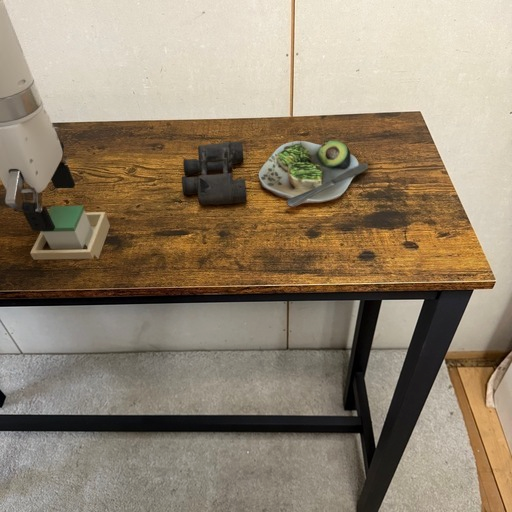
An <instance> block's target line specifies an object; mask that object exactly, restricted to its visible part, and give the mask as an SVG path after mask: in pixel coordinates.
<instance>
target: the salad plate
mask: <svg viewBox="0 0 512 512" xmlns="http://www.w3.org/2000/svg"><path fill="white" fill-rule="evenodd" d="M368 168H369V163H367V162H363V163H361V162H359V160H358V159H357V158H356V156H355V155H353V154H352V153H351V151H350V149H349V147H348V146H347V144H346V143H344V142H343V141H340V140H336V139H330V140H328V141H325V142H324V143H323V144H322V145H321V144H318V143H314V142H310V141H305V140H295V141H289V142H286V143H284V144H282V145H280V146H278V148H276V150H275V151H274V152H272V154H271V156H270V157H269V158H268V159H267V161H265V163H263V166H262V167H261V168H260V169H259V171H258V180H259V183H260V184H261V185H262V187H263V188H264V189H266V190H267V191H269V192H271V193H272V194H273V195H275V196H277V197H279V198H283V199H285V200H286V202H285V203H286V206H287V207H290V208H294V207H297V206H300V205H302V204H308V203H309V204H311V203H319V204H320V203H324V202H329V201H334V200H337V199H339V198H341V196H342V195H343V194H344V193H345V192H346V191H347V190H348V188H349V187H350V185H351V182H352V180H354V178H355V177H357V176H358V175H360V174H362V173H363V172H364V171H366V170H367V169H368Z"/></svg>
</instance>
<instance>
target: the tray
mask: <svg viewBox="0 0 512 512" xmlns="http://www.w3.org/2000/svg"><path fill="white" fill-rule="evenodd" d="M85 213H86V216H87V218H88V220H89V223H90V225H91V228H92V230H93V234H92V236H91V239H90V242H89V244H88V247H87V248H86V249H84V248H83V249H44V248H45V246H46V243H47V240H46V238H45V236H44V234H43V232H42V231H39V232H40V233H39V235H38V236H37V239H36V241H35V242H34V245H33V246H32V249H31V251H30V252H29V254H30V256H31V258H32V259H33V261H35V260H85V259H86V260H92V259H94V256H95V257H96V258H97V260H99V258H100V256H101V253H102V250H103V247H104V244H105V242H106V239H107V236H108V234H109V230H110V228H111V224H110V222H109V219H108V216H107V214H106V211H91V212H88V211H87V212H86V211H85Z"/></svg>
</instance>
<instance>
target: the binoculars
mask: <svg viewBox="0 0 512 512" xmlns="http://www.w3.org/2000/svg"><path fill="white" fill-rule="evenodd" d="M197 155H198V158H185V157H184V158H183V160H182V162H183V173H184V176H183V175H182V177H181V188H182V193H183V196H186V195H191V194H192V195H193V194H197V199H198V204H199V206H203V205H204V206H205V205H232V204H237V203H238V204H239V203H247V202H248V198H247V185H246V178H235V179H234V175H233V172H234V170H233V169H234V166H233V165H237V164H242V163H244V162H245V161H244V148H243V141H224V142H220V143H214V144H201V145H197ZM229 172H230V173H229ZM216 173H217V174H216ZM199 174H201V175H199Z"/></svg>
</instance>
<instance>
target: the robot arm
mask: <svg viewBox="0 0 512 512" xmlns="http://www.w3.org/2000/svg"><path fill="white" fill-rule="evenodd" d="M6 7H7V6H6V5H5V2H4V0H0V181H1V183H2V185H3V187H4V188H5V191H6V192H5V199H4V202H5V204H6V205H7V206H9V207H10V208H11V209H13V211H14V212H18V213H21V214H23V215H24V218H25V219H26V221H27V224H28V225H29V227H30V229H31V231H33V232H41V231H54V229H55V225H54V223H53V221H52V219H51V217H50V215H49V213H48V211H49V210H48V208H47V207H46V206H43V194H42V193H43V191H45V189H46V188H47V187H48V185H49V183H50V182H51V183H52V185H53V187H54V189H74V188H75V187H76V182H75V179H74V178H73V175H72V172H71V170H70V167H69V165H68V157H67V156H66V155H65V154H64V151H65V150H64V148H65V145H64V143H63V141H62V135H61V130H60V129H61V128H60V127H59V126H54V124H53V122H52V120H51V118H50V115H49V114H48V112H47V110H46V107H45V106H44V103H43V100H42V97H41V95H40V92H39V90H38V87H37V85H36V82H35V79H34V77H33V74H32V72H31V69H30V66H29V64H28V61H27V59H26V56H25V54H24V51H23V49H22V47H21V44H20V40H19V39H18V36H17V34H16V30H15V28H14V26H13V23H12V20H11V18H10V16H9V15H10V14H9V13H8V9H7V8H6ZM25 184H27V185H28V186H29V187H30V188H29V187H25ZM26 194H32V195H33V202H30V201H27V196H26Z"/></svg>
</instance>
